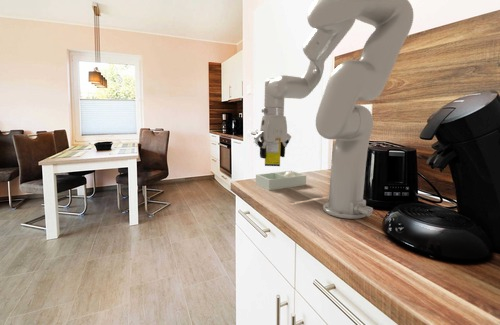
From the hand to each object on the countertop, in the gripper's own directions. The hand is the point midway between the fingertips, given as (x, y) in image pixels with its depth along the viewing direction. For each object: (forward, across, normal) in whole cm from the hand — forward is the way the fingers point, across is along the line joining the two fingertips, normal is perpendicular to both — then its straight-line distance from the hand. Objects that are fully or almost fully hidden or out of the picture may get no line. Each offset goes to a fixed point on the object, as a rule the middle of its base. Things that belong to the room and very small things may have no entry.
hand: (272, 157), depth 103 cm
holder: (+12, +4, 0) cm, 13 cm away
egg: (+12, +9, 0) cm, 15 cm away
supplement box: (+3, 0, 0) cm, 3 cm away
